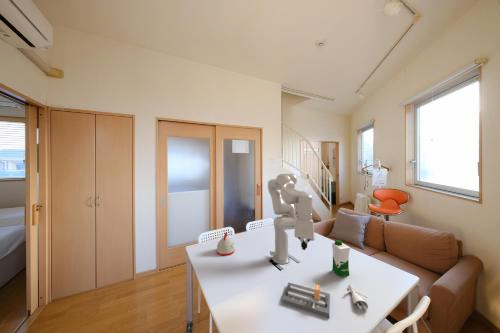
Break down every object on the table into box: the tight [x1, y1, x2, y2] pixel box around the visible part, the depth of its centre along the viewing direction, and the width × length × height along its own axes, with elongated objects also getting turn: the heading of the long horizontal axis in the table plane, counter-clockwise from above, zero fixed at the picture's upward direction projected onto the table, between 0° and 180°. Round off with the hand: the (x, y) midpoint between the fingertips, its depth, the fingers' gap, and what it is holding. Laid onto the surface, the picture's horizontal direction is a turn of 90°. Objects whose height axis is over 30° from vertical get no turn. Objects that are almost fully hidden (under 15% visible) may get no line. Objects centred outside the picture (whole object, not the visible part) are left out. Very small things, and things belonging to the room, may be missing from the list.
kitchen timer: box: [216, 231, 235, 257], centre depth 145 cm, size 14×14×15 cm
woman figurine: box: [343, 284, 369, 311], centre depth 94 cm, size 12×4×18 cm
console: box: [281, 281, 331, 319], centre depth 94 cm, size 22×14×3 cm, turn 65°
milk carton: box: [331, 239, 351, 278], centre depth 116 cm, size 9×9×20 cm
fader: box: [313, 284, 321, 301], centre depth 91 cm, size 3×4×6 cm
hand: (304, 248), depth 100 cm, fingers closed
